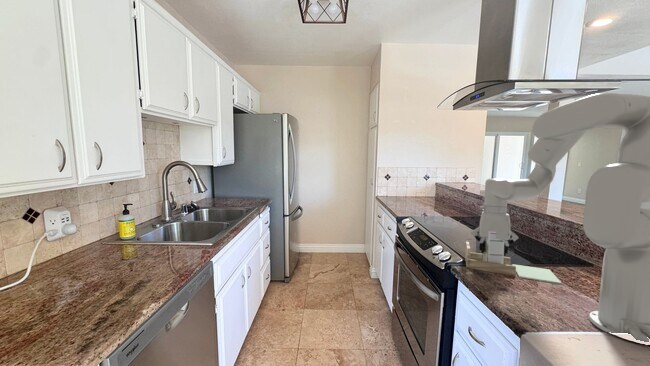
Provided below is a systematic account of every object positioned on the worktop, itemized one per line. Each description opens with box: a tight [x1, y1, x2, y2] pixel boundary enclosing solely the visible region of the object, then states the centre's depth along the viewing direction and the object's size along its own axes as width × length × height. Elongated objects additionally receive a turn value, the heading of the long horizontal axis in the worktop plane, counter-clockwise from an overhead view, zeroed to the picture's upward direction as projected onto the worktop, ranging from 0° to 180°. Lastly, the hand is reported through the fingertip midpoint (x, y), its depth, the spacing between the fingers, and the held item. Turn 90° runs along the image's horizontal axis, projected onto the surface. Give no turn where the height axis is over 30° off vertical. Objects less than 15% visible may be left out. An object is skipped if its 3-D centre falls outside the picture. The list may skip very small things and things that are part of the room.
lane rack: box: [464, 241, 517, 276], centre depth 103 cm, size 10×16×8 cm, turn 64°
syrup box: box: [482, 231, 505, 264], centre depth 102 cm, size 6×6×14 cm
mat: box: [511, 263, 562, 285], centre depth 96 cm, size 12×12×1 cm
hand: (492, 253), depth 102 cm, fingers closed on syrup box, 6 cm apart
